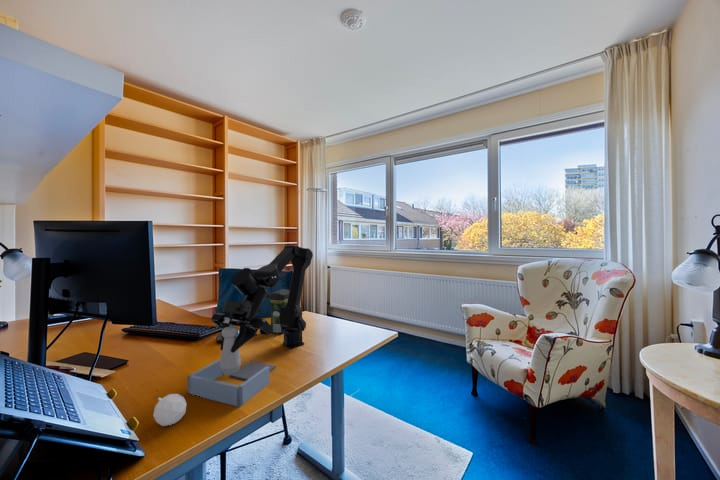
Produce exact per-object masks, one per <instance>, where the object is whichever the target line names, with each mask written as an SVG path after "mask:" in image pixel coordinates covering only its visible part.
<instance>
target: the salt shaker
mask: <svg viewBox="0 0 720 480" xmlns="http://www.w3.org/2000/svg"><path fill="white" fill-rule="evenodd" d="M238 334H239V329H238V326H229V327H226V328H224V329H221V336H222V337H224V343H223V349H222V350H221V353H220V355H221V356H220V359H221V360H220V369H221V371H222V373H223V375H226V376H230V375H231V374H235V373H236V372H237V371H239V369H240V368H241V365H242V358H241V355H240V348H239V349H237V350H236V351H235V352H234V353H232V352H231V349H232V346H233V344H234V342H235V340H236V338H237V336H238Z"/></svg>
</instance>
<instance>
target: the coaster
mask: <svg viewBox="0 0 720 480" xmlns="http://www.w3.org/2000/svg"><path fill="white" fill-rule="evenodd" d="M266 366H268V367H269V373H271V372H272V371H273V370H275V369H276V368H277V366H276V365H273V364H268V363H263V362H258V361H252V360H251V361H250V362H248V363H246V364H245V365H243V366H242V367H241V366H240V368H239V371H237V372H236V373H235V374H231V375H229V377H230V378H234V379H239V380H243V381H246V380H248V379H249V378H251V377H252V376H253V375H255V374H256V373H258V372H259V371H261V370H262V369H263V368H265V367H266Z"/></svg>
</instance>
